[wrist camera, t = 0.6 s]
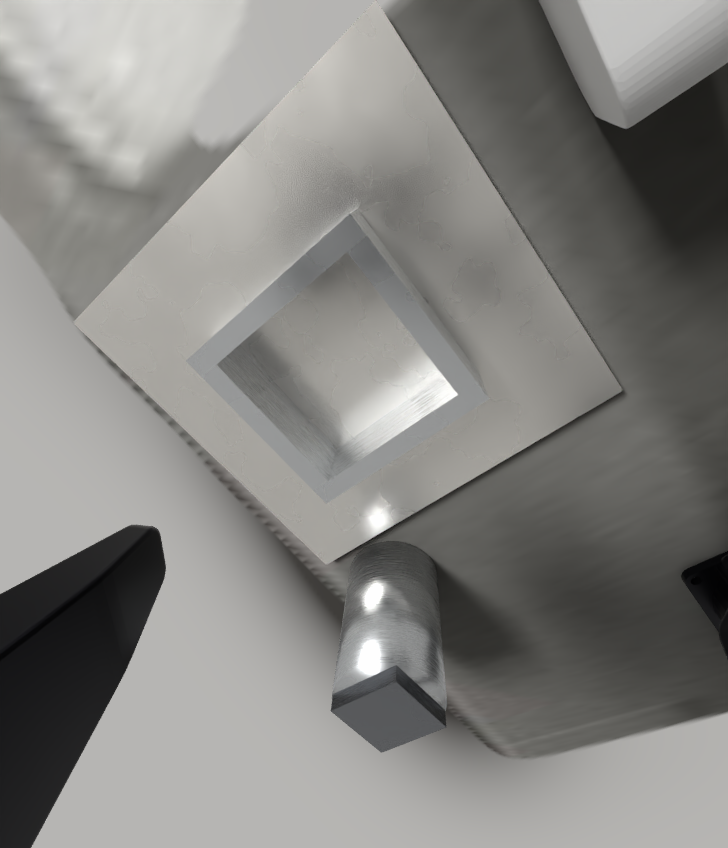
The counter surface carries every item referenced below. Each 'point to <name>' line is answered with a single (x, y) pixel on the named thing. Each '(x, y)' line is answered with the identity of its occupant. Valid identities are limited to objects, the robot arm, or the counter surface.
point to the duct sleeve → (391, 648)
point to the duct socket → (351, 307)
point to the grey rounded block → (638, 50)
